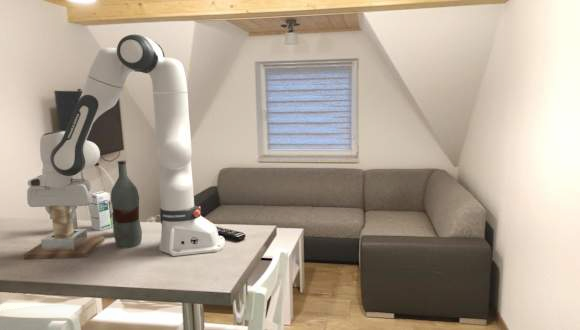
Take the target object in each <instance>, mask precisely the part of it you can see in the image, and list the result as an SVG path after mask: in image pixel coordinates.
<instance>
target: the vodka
mask: <svg viewBox="0 0 580 330" xmlns="http://www.w3.org/2000/svg"><path fill="white" fill-rule="evenodd" d="M117 167H118V169H117V171H118V178H117V179H116V182H115V183H114V185H112V189H111V192H110V204H111V209H112V212H113V214H114V220H115V224H114V231H113V236H114V242H115V244H116V247H117V248H120V249H129V248H135V247H137V246H139V245H141V243H142V239H143V229H142V225H141V221H140V196H139V195H140V194H139V190H138V188H137V186H136V185H135V184H134V182H133V181H132V180H131V179H130V178H129V176H128V171H127V161H126V160H118V161H117Z"/></svg>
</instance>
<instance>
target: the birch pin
mask: <svg viewBox="0 0 580 330" xmlns="http://www.w3.org/2000/svg"><path fill="white" fill-rule="evenodd" d="M51 212H52V219H51V220H52V221H51V222H52V230H53V231H52V232H54V237H69V236H71V235H72V234H74V231H73V220H72V219H68V215H67V214H69V213H70V212H71V209H70V206H51Z"/></svg>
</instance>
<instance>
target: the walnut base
mask: <svg viewBox="0 0 580 330" xmlns="http://www.w3.org/2000/svg"><path fill="white" fill-rule="evenodd" d="M87 237H88V240H86V241H85V242H84V243H83V244H81V245H80V246H79V247H78V248H76V249H75V250H60V251H42V243H41V242H40V243H39V244H37V245H35V246H34V247H33V248H32V249H30V250H28V251H27V252H25V253H24V254H23V255H22V257H23V260H34V259H60V258H61V259H62V258H64V259H65V258H86V257H87V256H88V255H90V254H91V253H92V252H93V251H94V250H95V249H97V247H99V246H100V245H101V244H102V243H103V242H105V236H103V235H102V236H101V235H99V236H87Z"/></svg>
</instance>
